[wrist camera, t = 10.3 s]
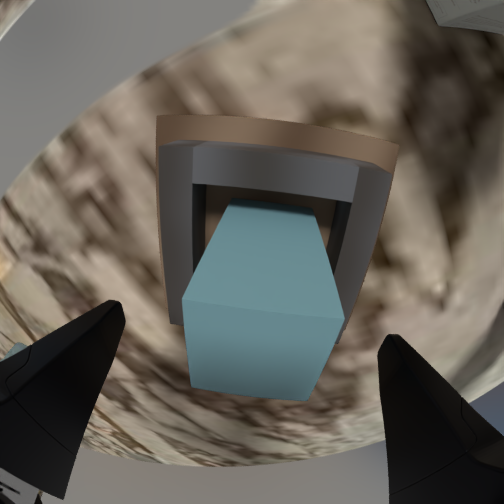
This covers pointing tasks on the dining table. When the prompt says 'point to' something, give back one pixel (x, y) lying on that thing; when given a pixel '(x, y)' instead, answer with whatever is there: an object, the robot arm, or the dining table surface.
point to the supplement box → (469, 14)
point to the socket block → (268, 190)
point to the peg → (262, 304)
